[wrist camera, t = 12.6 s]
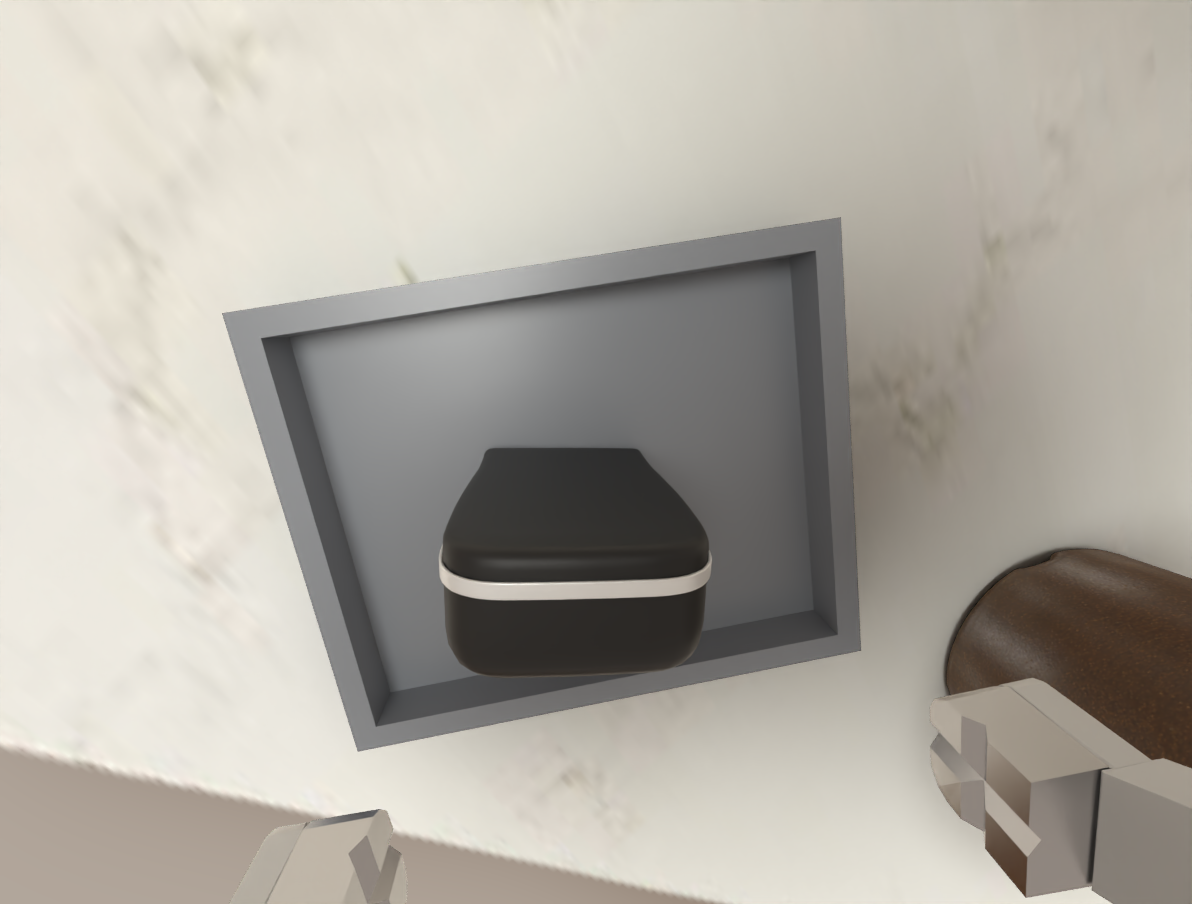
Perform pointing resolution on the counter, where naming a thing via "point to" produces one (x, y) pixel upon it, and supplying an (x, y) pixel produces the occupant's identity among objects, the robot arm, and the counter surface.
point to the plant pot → (1091, 644)
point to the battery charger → (572, 566)
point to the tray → (564, 420)
